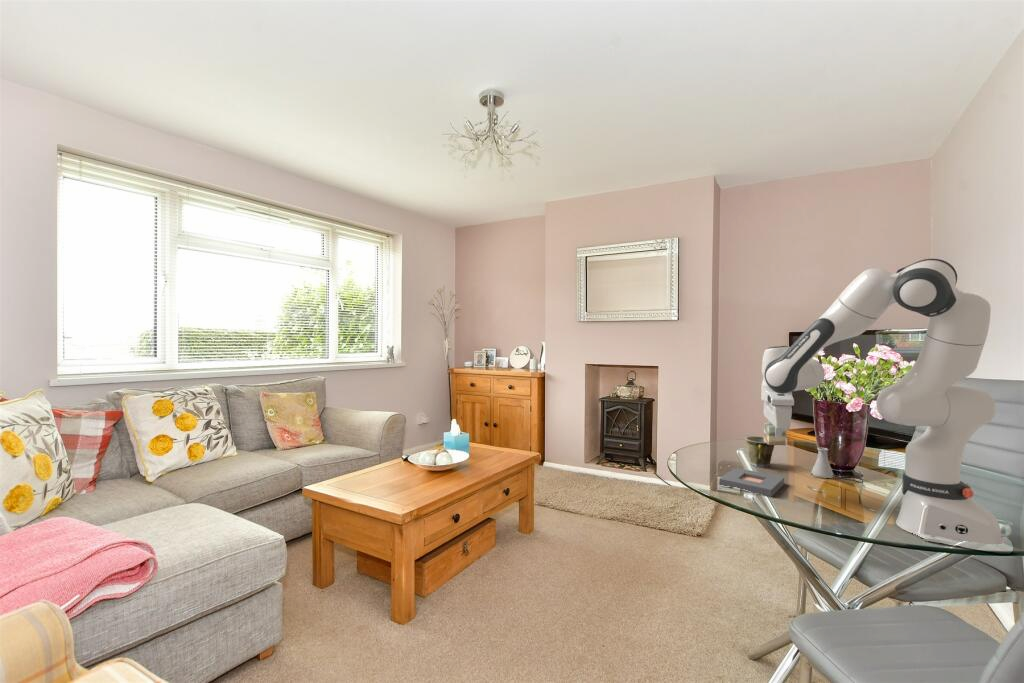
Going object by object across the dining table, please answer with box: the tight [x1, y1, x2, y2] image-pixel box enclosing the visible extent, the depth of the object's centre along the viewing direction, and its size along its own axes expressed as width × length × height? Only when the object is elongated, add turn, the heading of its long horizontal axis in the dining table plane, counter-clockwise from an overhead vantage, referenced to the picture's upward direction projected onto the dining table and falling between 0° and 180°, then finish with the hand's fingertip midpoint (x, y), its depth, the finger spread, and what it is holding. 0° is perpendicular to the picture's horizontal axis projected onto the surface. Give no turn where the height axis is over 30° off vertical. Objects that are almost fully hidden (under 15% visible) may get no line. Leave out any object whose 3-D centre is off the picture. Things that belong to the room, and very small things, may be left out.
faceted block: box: [763, 422, 787, 446], centre depth 157 cm, size 5×5×6 cm
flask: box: [810, 447, 835, 479], centre depth 171 cm, size 7×7×10 cm
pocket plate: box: [718, 467, 785, 498], centre depth 163 cm, size 16×16×2 cm
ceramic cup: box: [745, 435, 775, 469], centre depth 183 cm, size 13×10×10 cm
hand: (775, 436), depth 157 cm, fingers closed on faceted block, 5 cm apart
